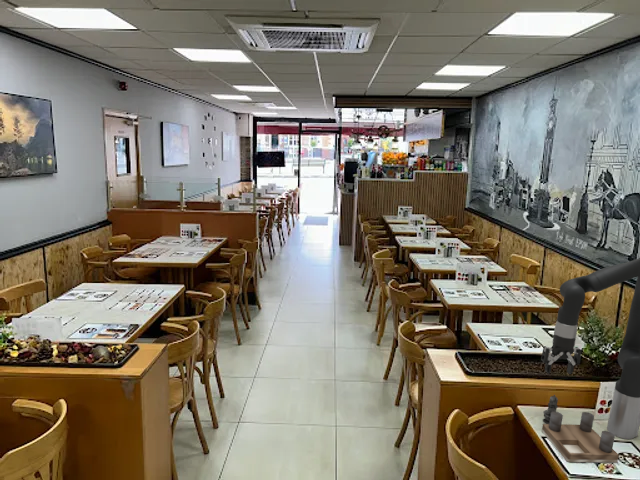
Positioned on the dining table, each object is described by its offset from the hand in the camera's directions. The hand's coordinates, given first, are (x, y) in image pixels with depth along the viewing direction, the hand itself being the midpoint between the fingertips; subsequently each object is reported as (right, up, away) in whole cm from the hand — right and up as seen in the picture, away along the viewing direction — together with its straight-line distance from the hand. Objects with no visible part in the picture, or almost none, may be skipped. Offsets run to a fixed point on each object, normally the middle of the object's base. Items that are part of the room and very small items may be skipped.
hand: (558, 372), depth 188 cm
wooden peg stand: (+2, -24, -10) cm, 26 cm away
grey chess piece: (-1, -21, +5) cm, 21 cm away
